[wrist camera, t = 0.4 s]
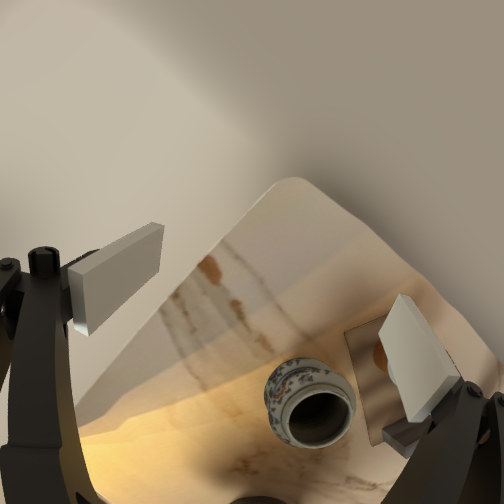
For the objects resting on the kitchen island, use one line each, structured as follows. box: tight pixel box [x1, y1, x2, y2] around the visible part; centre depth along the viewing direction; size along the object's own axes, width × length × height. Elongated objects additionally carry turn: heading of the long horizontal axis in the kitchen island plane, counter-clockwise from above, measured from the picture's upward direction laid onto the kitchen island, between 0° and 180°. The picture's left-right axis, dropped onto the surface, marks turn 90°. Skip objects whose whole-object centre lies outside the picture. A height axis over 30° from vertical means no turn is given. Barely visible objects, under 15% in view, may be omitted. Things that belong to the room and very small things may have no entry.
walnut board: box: [344, 314, 432, 459], centre depth 38 cm, size 26×14×11 cm, turn 16°
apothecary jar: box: [264, 358, 356, 449], centre depth 36 cm, size 12×12×18 cm
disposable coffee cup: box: [373, 340, 397, 385], centre depth 39 cm, size 10×10×12 cm
